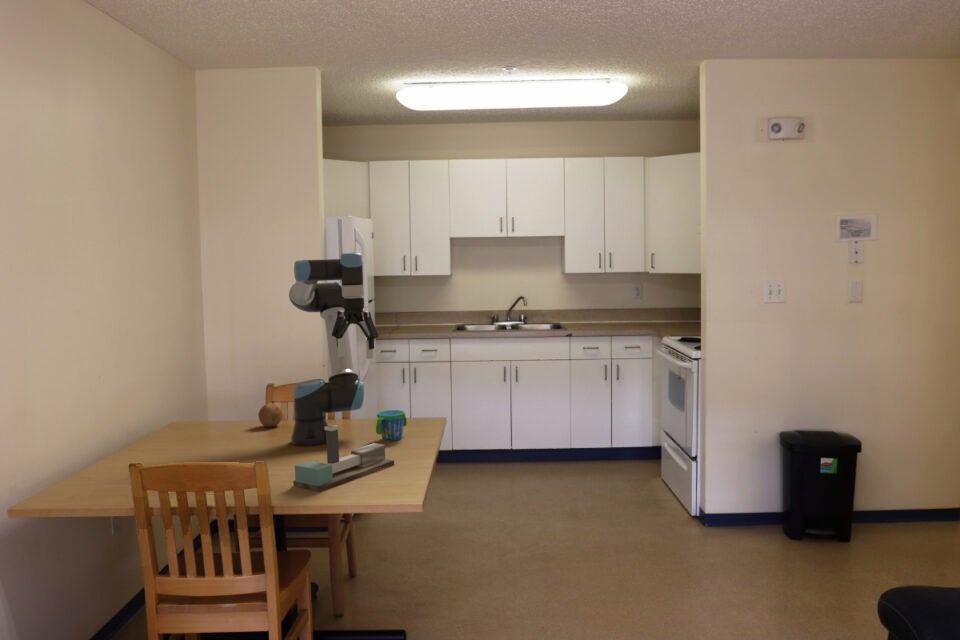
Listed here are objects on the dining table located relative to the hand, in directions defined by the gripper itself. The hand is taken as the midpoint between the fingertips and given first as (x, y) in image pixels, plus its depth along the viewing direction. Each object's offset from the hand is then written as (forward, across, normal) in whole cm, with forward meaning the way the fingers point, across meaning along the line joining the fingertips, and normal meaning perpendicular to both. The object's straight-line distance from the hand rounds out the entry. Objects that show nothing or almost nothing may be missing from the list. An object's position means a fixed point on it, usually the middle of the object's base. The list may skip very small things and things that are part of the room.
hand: (355, 357), depth 273 cm
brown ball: (+35, +65, -15) cm, 75 cm away
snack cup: (+35, +5, -23) cm, 42 cm away
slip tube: (+32, -14, +23) cm, 42 cm away
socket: (+33, -14, +35) cm, 50 cm away
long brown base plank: (+35, -14, +21) cm, 43 cm away
